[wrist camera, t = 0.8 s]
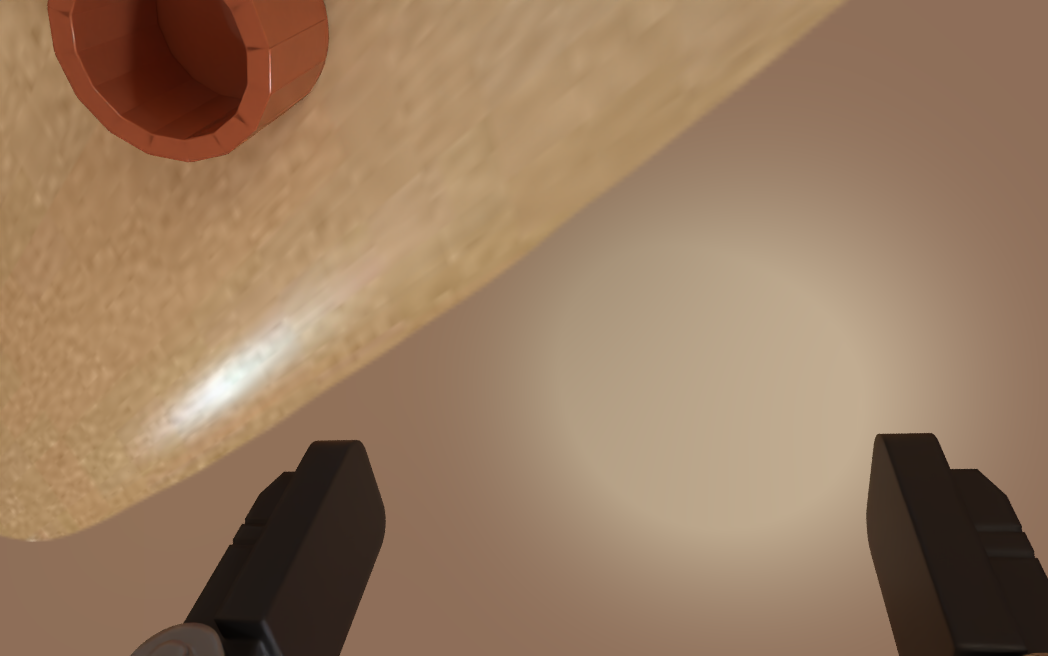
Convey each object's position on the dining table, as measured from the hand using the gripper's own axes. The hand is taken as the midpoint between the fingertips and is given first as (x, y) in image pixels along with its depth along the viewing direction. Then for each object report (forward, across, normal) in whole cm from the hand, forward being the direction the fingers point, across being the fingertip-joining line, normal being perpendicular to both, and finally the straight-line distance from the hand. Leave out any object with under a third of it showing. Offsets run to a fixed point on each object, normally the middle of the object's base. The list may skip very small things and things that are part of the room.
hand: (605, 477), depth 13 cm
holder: (+28, +19, -3) cm, 34 cm away
